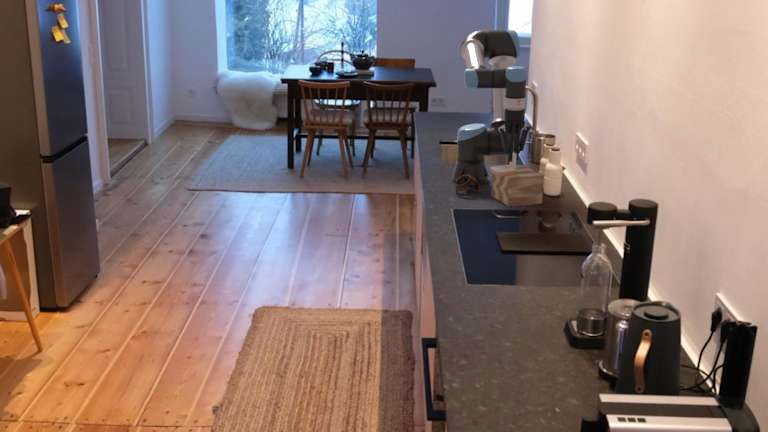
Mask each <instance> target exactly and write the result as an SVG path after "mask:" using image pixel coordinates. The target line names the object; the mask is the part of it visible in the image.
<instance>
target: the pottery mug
mask: <svg viewBox="0 0 768 432" xmlns="http://www.w3.org/2000/svg"><path fill="white" fill-rule="evenodd" d="M463 179H464V182H465V183H464V184H459V182H460V181H461V180H463ZM454 183H455V184H454V186H455V188H454V189H455V192H456V193H459V192H462V191H466V190H467V191H470V189H471V188H473V191H478V194H479V195H480V194H481V188H480V184H478V181H477V180H476V179H475V178H473V177H471V176H470V175H463V176H461V177H459V178H458V179H457V180H456V182H454Z"/></svg>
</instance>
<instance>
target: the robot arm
mask: <svg viewBox="0 0 768 432" xmlns="http://www.w3.org/2000/svg"><path fill="white" fill-rule="evenodd" d="M460 54H461V56H462V58H463V59H464V62H465V66H466V68H465V69H464V71H463V85H464V88H466V89H472V90H476V89H479V90H481V89H492V101H493V121H491V122H490V124H489V125H490V126H489V127H487V125H486V124H485V123H471V124H465V125H463V126H461V127H459V128H458V130H457V137H456V141H457V143H456V144H457V146H456V147H457V149H456V150H457V151H456V164H455V167H454V170H453V172H452V178H451V179H452V181H453V182H454V183H456V180H457V179H458V178H459V177H461V176H463V175H470V176H471V177H473V178H475V179H476V180H477V181H478V184H479V185H482V184H487V183H488V182H489V180H490V179H489V178H490V175H489V171H488V168H487V165H486V157H507V161H508V162H509V164H508V166H510V167H512V168H514V169H515V170H516V166H517V162H518V161H519V154H521V152H523V151H524V149H525V145H526V141H527V137H528V133H529V131H530V130H531V126H530V125H528V124H526V121H525V117H526V109H525V108H526V91H527V90H526V89H527V88H526V87H527V78H528V77H527V76H528V75H527V68H526V67H525V66H520V65H519V66H518V65H515V63H517V59H518V58H519V57H520V55H521V45H520V38H519V35H518V33H517V31H516V30H514V29H487V30H486V29H480V30H479V29H478V30H476V31H473V32H471V33H469V34H467V36H466V37H465V38H464V39H463V40H462V42H461V44H460ZM485 59H488V64H489V65H491V66H492V68H487V63H486V61H485ZM464 183H465V182H464V179H463V180H461V181H460V182H459V183H458V185H461V184H464Z"/></svg>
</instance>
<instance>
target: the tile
mask: <svg viewBox="0 0 768 432" xmlns="http://www.w3.org/2000/svg"><path fill="white" fill-rule="evenodd" d="M489 169H490V170H489V171H490V173H491V174H492V173H493V174H494V175H496V176H498V177H499V176H506V175H513V174H515V169H514V168H512V167H510V166H509V164H503V165H495V166H490V167H489Z"/></svg>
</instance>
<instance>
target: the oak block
mask: <svg viewBox="0 0 768 432" xmlns="http://www.w3.org/2000/svg"><path fill="white" fill-rule="evenodd" d="M543 189H544V175H543V174H542V173H540V172H538V171H536V170H534V169H532V168H530V167H528V166H526V165H524V164H522V165H516V170H515V174H513V175H506V176H499V177H498V176H496V175H494V174H493V173H491V188H490V195H491V197H493V198H494V199H496V200H497V201H499V202H500V201H501V203H502V204H503V203H504V205H505V204H506V205H505V206H507V207H508V206H512V207H518V205H519V206H520V205H521V206H528V205H540V204H542V203H543ZM521 206H520V207H521Z"/></svg>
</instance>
